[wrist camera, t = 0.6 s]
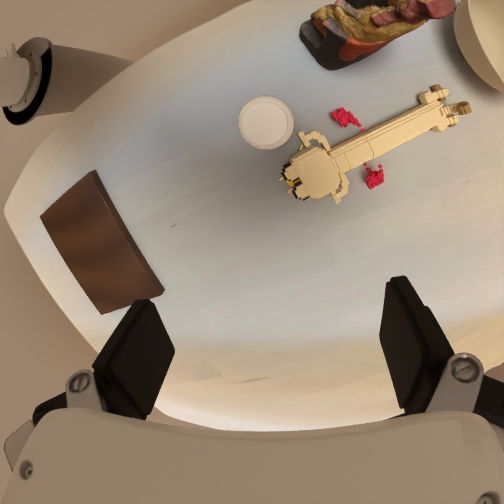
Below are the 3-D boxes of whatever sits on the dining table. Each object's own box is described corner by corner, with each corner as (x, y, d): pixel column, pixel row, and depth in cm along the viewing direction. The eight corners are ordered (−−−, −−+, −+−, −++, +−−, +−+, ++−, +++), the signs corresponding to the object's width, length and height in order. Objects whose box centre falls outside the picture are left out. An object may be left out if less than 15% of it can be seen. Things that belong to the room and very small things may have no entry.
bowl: (454, 103, 25) (500, 106, 16) (412, 0, 19) (445, -25, 10) (516, 96, 21) (557, 102, 12) (483, 7, 15) (519, -5, 6)
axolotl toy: (421, 72, 25) (260, 149, 31) (459, 63, 17) (260, 155, 23) (449, 137, 28) (302, 218, 34) (490, 145, 20) (314, 245, 26)
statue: (356, 3, 21) (416, -77, 3) (391, 52, 24) (488, 9, 6) (275, 35, 25) (265, -54, 7) (312, 86, 28) (354, 43, 10)
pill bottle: (257, 93, 29) (248, 82, 20) (299, 112, 29) (306, 109, 21) (238, 132, 31) (222, 137, 22) (279, 151, 32) (279, 163, 23)
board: (44, 213, 39) (39, 216, 38) (95, 169, 35) (89, 171, 33) (104, 310, 47) (101, 315, 46) (164, 289, 43) (161, 295, 42)
